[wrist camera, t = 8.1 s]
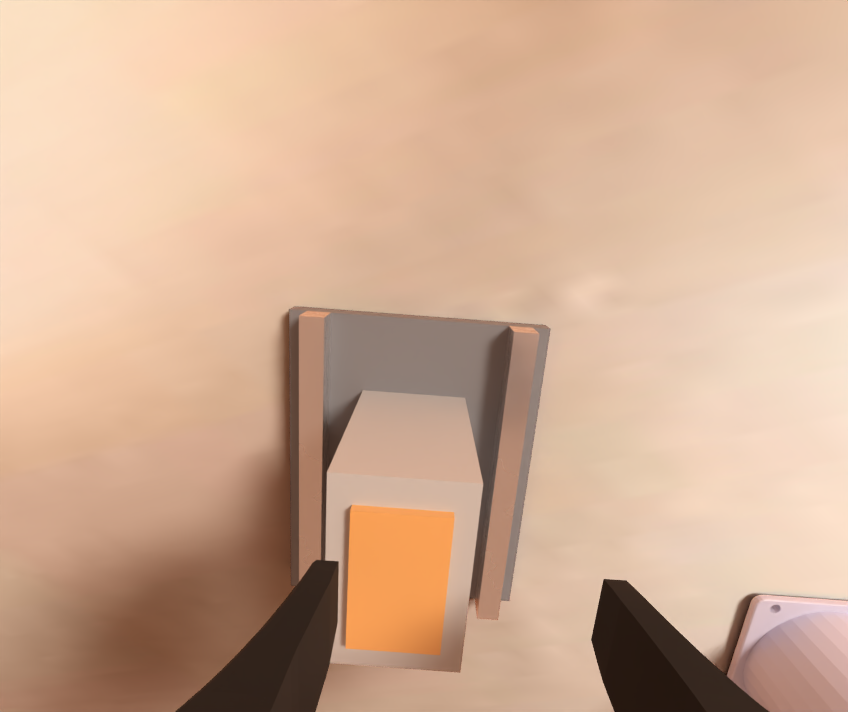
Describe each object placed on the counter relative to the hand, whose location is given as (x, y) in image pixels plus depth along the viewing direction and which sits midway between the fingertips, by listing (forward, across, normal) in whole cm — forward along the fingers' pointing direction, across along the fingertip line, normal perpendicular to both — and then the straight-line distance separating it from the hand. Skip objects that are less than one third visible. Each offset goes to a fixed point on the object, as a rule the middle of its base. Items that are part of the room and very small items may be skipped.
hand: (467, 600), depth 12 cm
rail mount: (+9, +2, +1) cm, 10 cm away
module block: (+8, +2, +1) cm, 9 cm away
